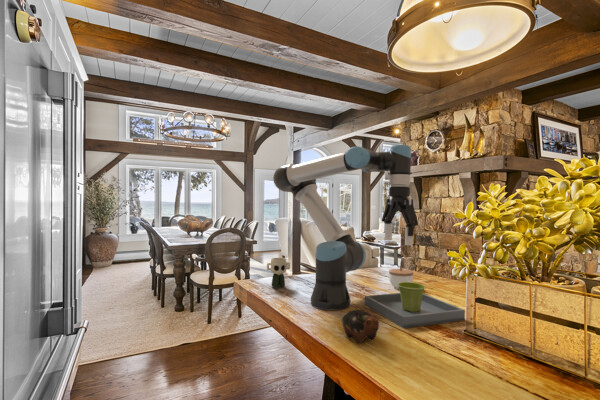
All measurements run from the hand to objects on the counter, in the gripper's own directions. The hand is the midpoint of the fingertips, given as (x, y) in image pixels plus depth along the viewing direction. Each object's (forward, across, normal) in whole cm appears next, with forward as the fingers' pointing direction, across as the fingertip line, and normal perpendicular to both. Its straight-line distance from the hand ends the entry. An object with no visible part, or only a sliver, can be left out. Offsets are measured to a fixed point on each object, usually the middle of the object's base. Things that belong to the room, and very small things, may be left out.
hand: (397, 242), depth 122 cm
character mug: (+26, +38, +37) cm, 59 cm away
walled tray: (+24, -7, -1) cm, 25 cm away
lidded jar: (+24, +23, -17) cm, 38 cm away
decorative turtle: (+24, -23, +26) cm, 42 cm away
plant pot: (+23, -7, -1) cm, 24 cm away
